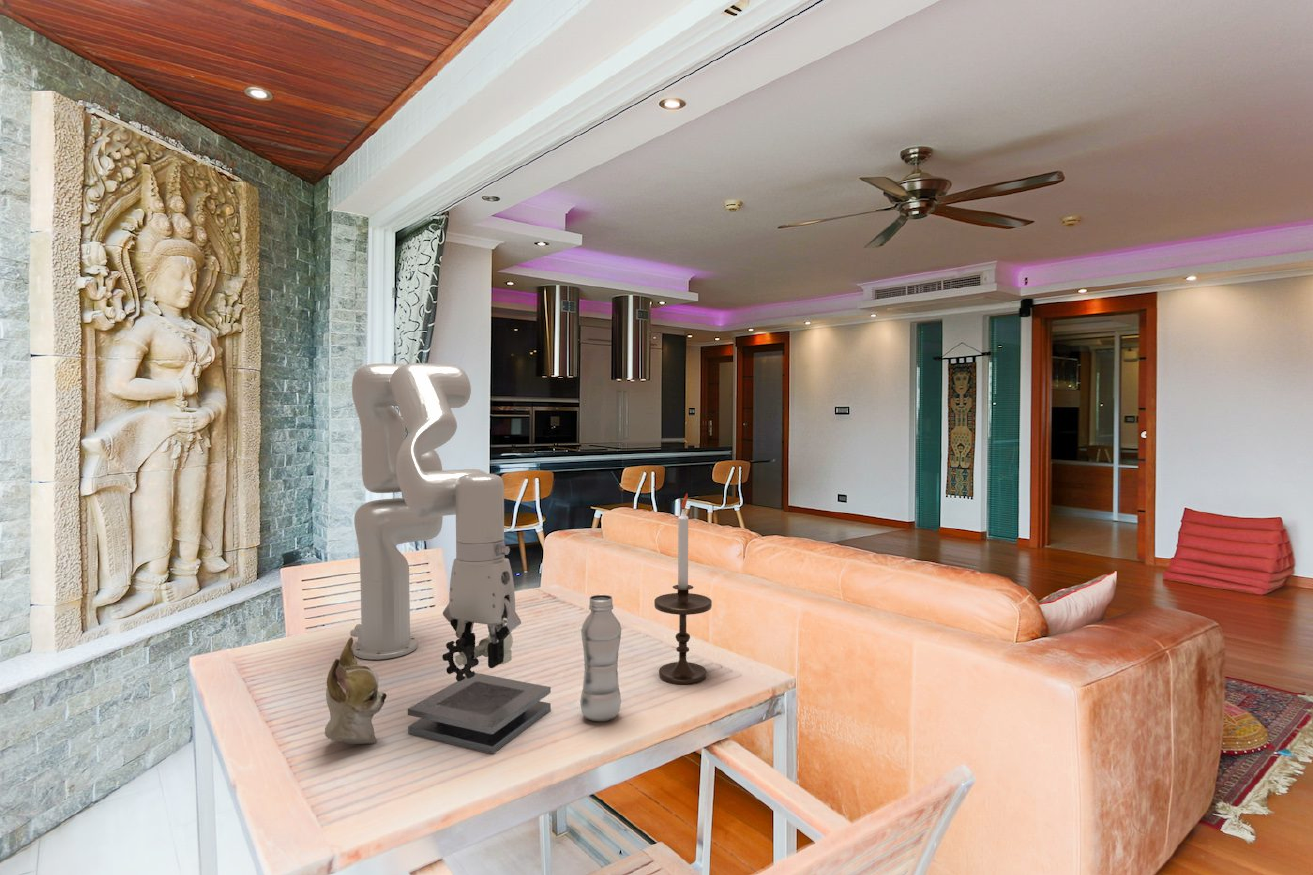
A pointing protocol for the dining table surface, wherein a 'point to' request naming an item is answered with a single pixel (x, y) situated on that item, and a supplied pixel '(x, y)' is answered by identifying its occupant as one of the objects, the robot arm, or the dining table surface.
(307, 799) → the dining table surface
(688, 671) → the candlestick
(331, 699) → the ceramic sculpture
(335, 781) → the dining table surface
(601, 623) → the plastic bottle
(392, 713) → the dining table surface
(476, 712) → the stand
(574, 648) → the dining table surface
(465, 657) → the valve
